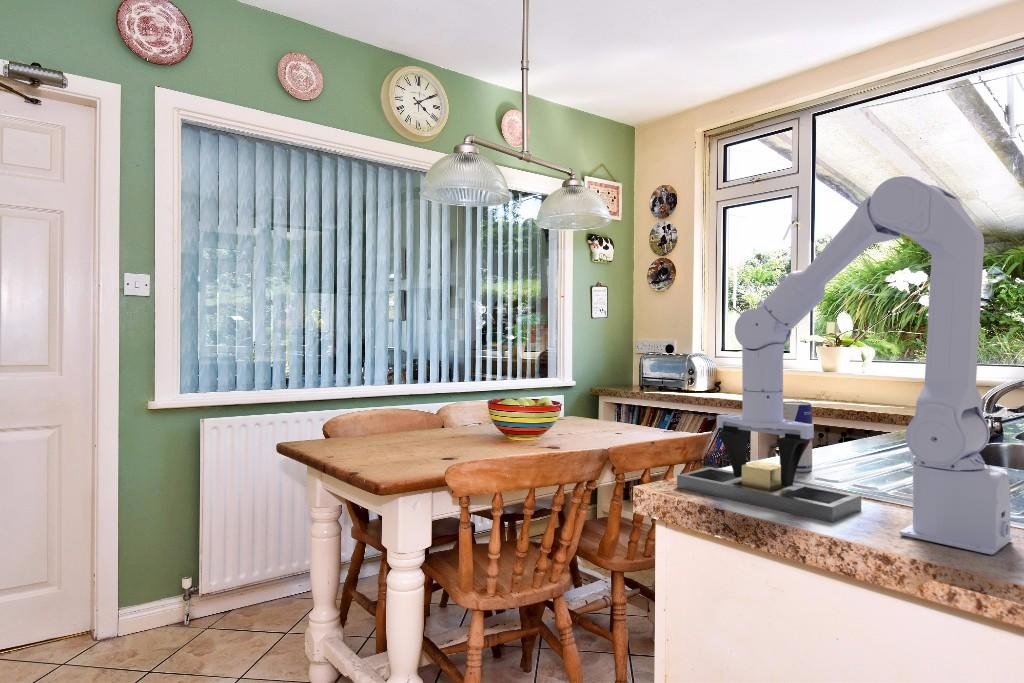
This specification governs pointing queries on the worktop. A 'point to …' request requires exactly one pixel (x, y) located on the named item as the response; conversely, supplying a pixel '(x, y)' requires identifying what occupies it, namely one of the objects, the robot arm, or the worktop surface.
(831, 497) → the grey compartment tray
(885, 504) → the worktop surface
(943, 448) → the robot arm
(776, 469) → the tan rectangular block
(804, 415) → the energy drink
